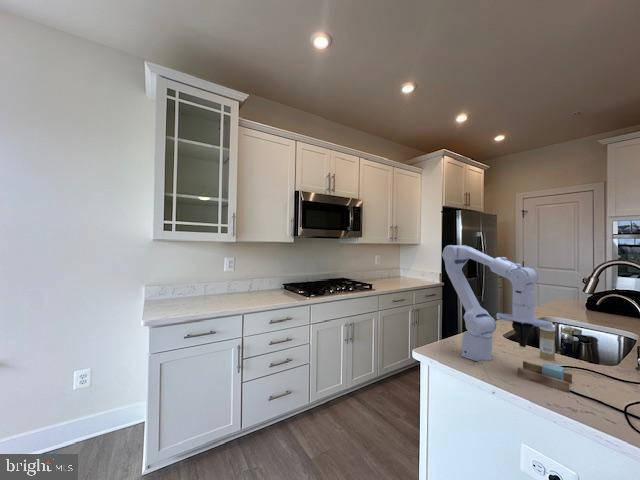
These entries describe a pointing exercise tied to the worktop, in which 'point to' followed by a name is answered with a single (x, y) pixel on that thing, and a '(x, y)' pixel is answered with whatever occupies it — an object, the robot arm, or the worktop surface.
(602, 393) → the worktop surface
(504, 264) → the robot arm
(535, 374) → the walnut channel
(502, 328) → the worktop surface
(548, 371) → the blue block
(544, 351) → the sprinkles bottle
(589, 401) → the worktop surface
